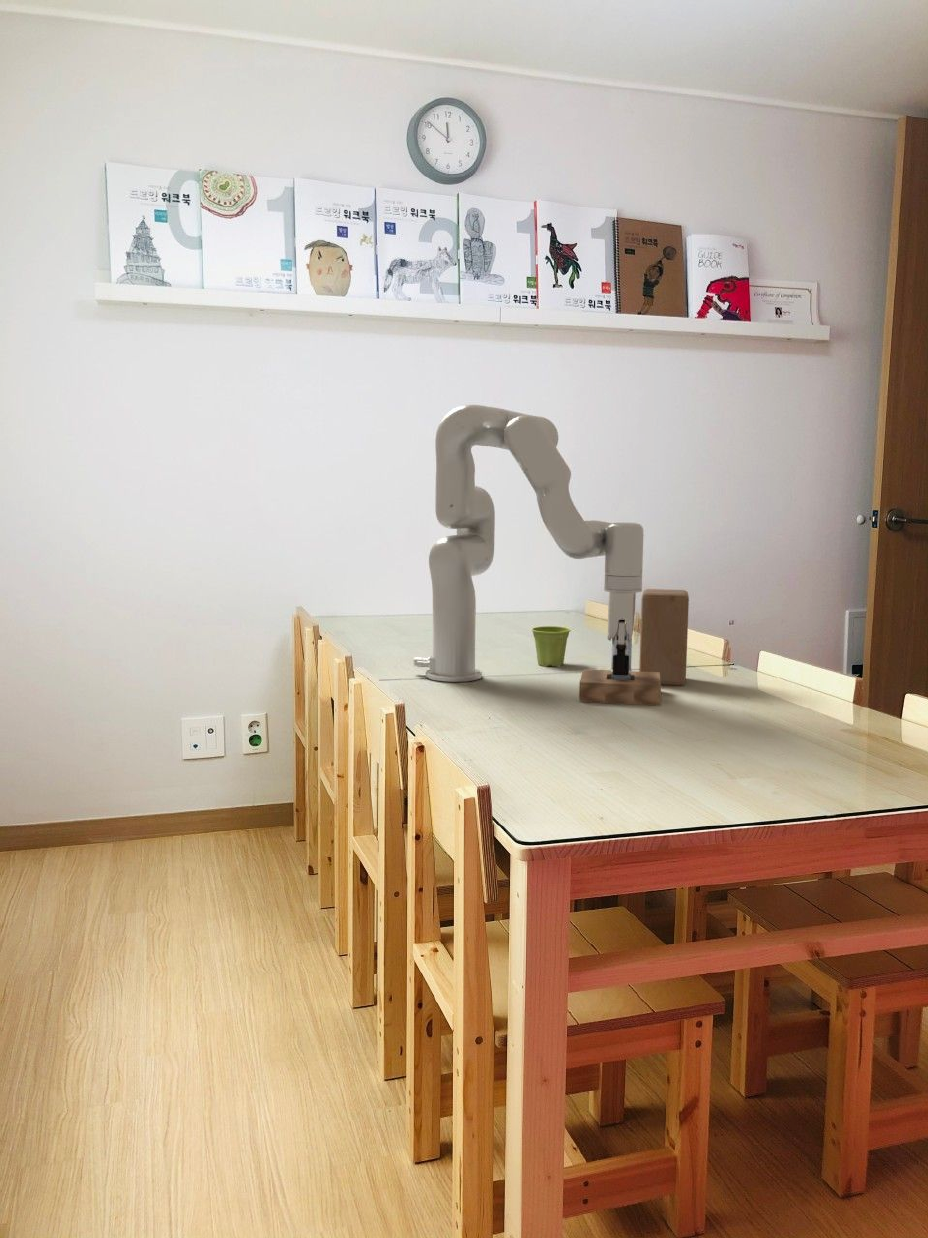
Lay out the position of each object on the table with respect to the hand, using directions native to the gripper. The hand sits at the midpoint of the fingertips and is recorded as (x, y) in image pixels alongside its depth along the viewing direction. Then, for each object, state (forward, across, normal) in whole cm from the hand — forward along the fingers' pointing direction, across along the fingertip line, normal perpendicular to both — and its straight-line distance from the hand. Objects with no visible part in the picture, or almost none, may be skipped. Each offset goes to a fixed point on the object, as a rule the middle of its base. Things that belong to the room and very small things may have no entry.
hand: (620, 671), depth 208 cm
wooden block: (+5, -18, +9) cm, 21 cm away
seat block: (+5, 0, 0) cm, 5 cm away
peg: (+4, 0, 0) cm, 4 cm away
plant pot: (+5, -33, -17) cm, 37 cm away
